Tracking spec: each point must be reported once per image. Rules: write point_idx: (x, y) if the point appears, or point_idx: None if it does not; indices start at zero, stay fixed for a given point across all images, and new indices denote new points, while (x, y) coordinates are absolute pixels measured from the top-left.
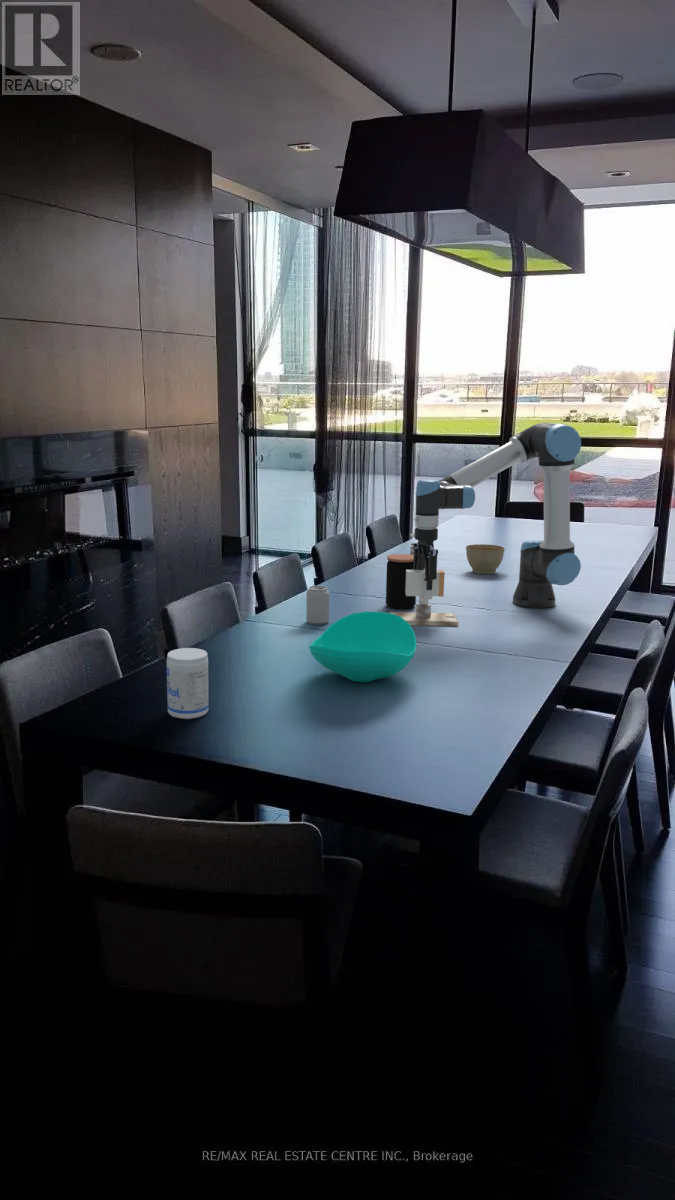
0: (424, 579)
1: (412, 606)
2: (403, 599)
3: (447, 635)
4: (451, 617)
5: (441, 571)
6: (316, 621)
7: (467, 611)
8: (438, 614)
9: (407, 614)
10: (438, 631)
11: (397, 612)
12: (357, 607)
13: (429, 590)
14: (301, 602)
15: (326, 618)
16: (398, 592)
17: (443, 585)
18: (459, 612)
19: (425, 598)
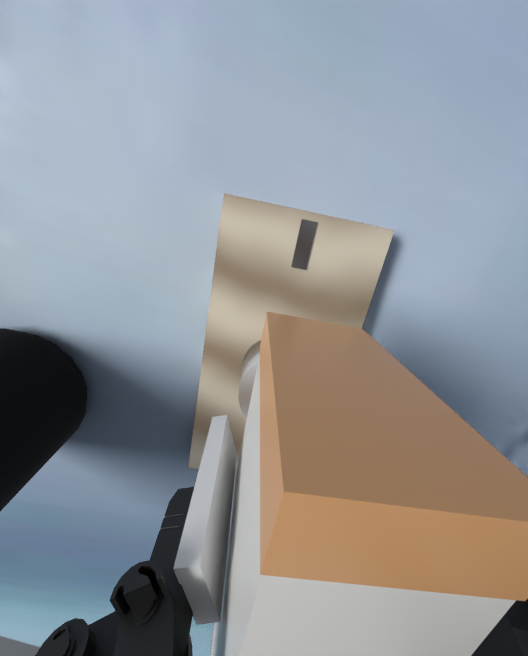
0: None
1: (60, 352)
2: (62, 419)
3: (498, 325)
4: (313, 240)
5: (453, 557)
6: None
7: (98, 52)
8: (246, 288)
9: (230, 416)
10: (433, 342)
11: (195, 442)
12: (64, 516)
13: None
14: (20, 623)
15: None
16: (33, 467)
17: (406, 375)
18: (124, 121)
19: None
